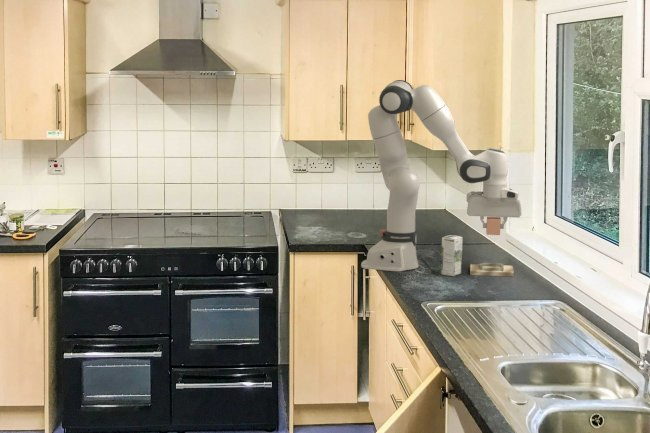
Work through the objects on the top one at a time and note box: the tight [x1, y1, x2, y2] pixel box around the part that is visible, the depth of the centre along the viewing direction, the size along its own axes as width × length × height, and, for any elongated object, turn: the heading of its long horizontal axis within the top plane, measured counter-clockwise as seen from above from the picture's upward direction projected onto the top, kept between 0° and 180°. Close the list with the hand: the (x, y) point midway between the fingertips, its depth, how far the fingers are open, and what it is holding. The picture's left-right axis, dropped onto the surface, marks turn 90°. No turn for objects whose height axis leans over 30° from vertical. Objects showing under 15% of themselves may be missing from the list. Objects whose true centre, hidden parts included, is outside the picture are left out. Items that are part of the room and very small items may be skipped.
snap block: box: [485, 216, 502, 236], centre depth 333 cm, size 5×5×6 cm
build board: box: [469, 262, 515, 278], centre depth 334 cm, size 16×12×2 cm
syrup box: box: [440, 234, 464, 277], centre depth 330 cm, size 6×6×14 cm
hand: (493, 228), depth 333 cm, fingers closed on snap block, 5 cm apart
